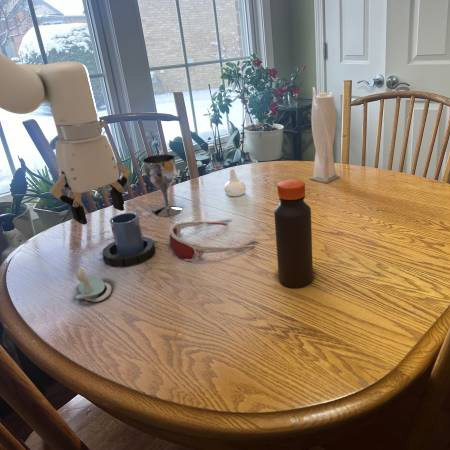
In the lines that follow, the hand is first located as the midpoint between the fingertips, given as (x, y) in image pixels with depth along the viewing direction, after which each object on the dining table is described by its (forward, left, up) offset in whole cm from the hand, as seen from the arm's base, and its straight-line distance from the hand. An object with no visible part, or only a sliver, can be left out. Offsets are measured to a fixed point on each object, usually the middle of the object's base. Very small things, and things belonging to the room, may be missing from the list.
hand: (101, 215), depth 90 cm
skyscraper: (+71, -6, -12) cm, 72 cm away
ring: (+4, 0, -11) cm, 12 cm away
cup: (+5, 0, -11) cm, 12 cm away
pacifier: (-9, -9, -12) cm, 17 cm away
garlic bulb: (+45, +8, -12) cm, 47 cm away
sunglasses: (+18, -11, -12) cm, 24 cm away
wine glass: (+25, +14, -12) cm, 31 cm away
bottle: (+18, -37, -12) cm, 43 cm away
